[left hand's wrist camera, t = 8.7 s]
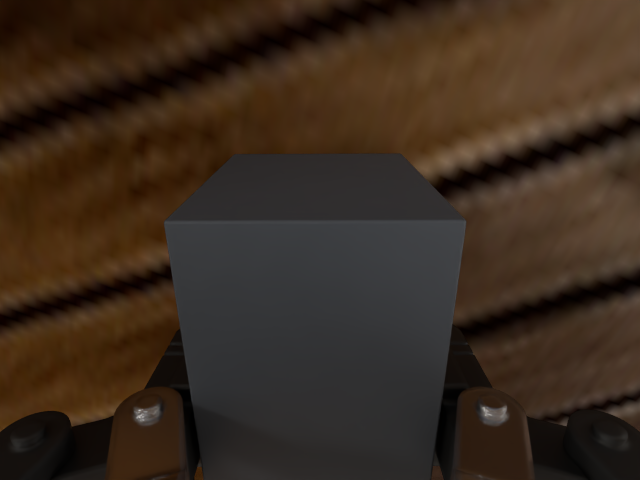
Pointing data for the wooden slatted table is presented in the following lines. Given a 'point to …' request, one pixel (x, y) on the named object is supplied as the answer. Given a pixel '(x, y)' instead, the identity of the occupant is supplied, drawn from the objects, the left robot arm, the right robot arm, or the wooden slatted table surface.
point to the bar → (316, 315)
